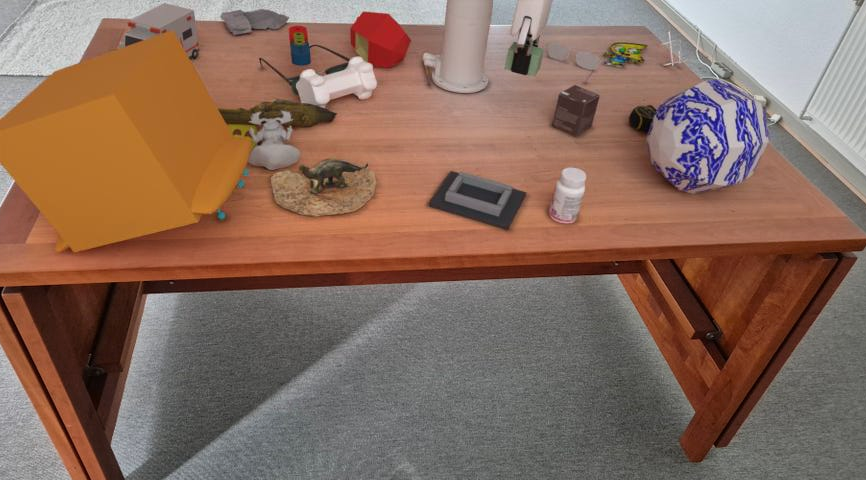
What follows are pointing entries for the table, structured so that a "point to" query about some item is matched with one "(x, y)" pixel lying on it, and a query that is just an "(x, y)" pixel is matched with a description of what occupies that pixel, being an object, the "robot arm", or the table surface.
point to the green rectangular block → (534, 63)
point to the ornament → (708, 137)
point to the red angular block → (379, 39)
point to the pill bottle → (568, 195)
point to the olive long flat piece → (270, 110)
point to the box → (575, 110)
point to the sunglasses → (294, 80)
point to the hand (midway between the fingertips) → (522, 67)
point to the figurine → (272, 143)
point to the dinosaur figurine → (324, 188)
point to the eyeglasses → (581, 57)
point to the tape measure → (642, 118)
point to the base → (478, 199)
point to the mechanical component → (299, 46)
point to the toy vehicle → (165, 27)
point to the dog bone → (337, 83)
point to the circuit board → (281, 100)
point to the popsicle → (242, 131)
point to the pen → (427, 74)
